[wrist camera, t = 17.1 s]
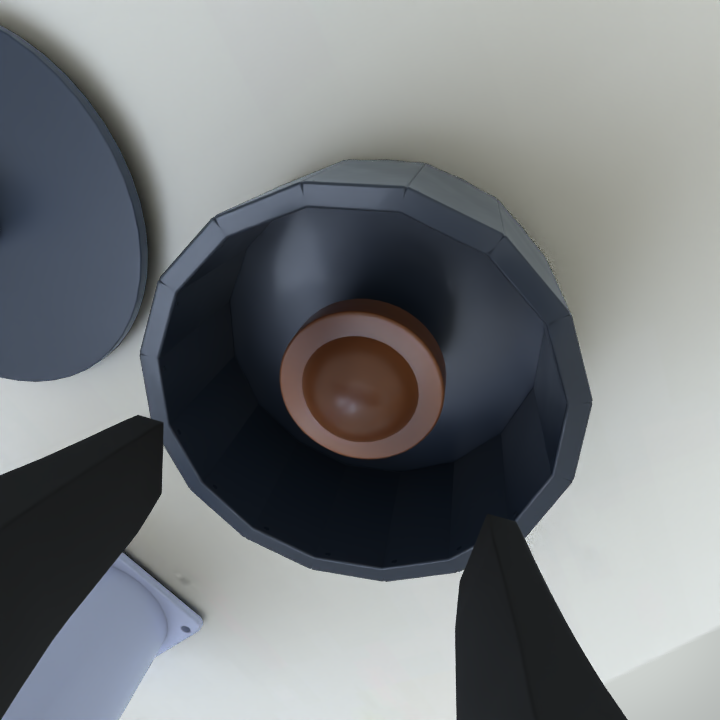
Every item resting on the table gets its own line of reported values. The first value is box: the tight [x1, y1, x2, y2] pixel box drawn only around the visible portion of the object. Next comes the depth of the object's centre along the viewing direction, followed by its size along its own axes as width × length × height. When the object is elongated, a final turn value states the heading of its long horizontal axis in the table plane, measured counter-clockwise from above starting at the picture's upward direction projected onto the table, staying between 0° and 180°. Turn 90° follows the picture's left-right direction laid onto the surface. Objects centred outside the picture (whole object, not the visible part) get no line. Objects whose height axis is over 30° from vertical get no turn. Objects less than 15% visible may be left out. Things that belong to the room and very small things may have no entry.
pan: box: [140, 160, 592, 582], centre depth 17 cm, size 12×12×5 cm
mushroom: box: [280, 299, 446, 459], centre depth 17 cm, size 5×5×5 cm
